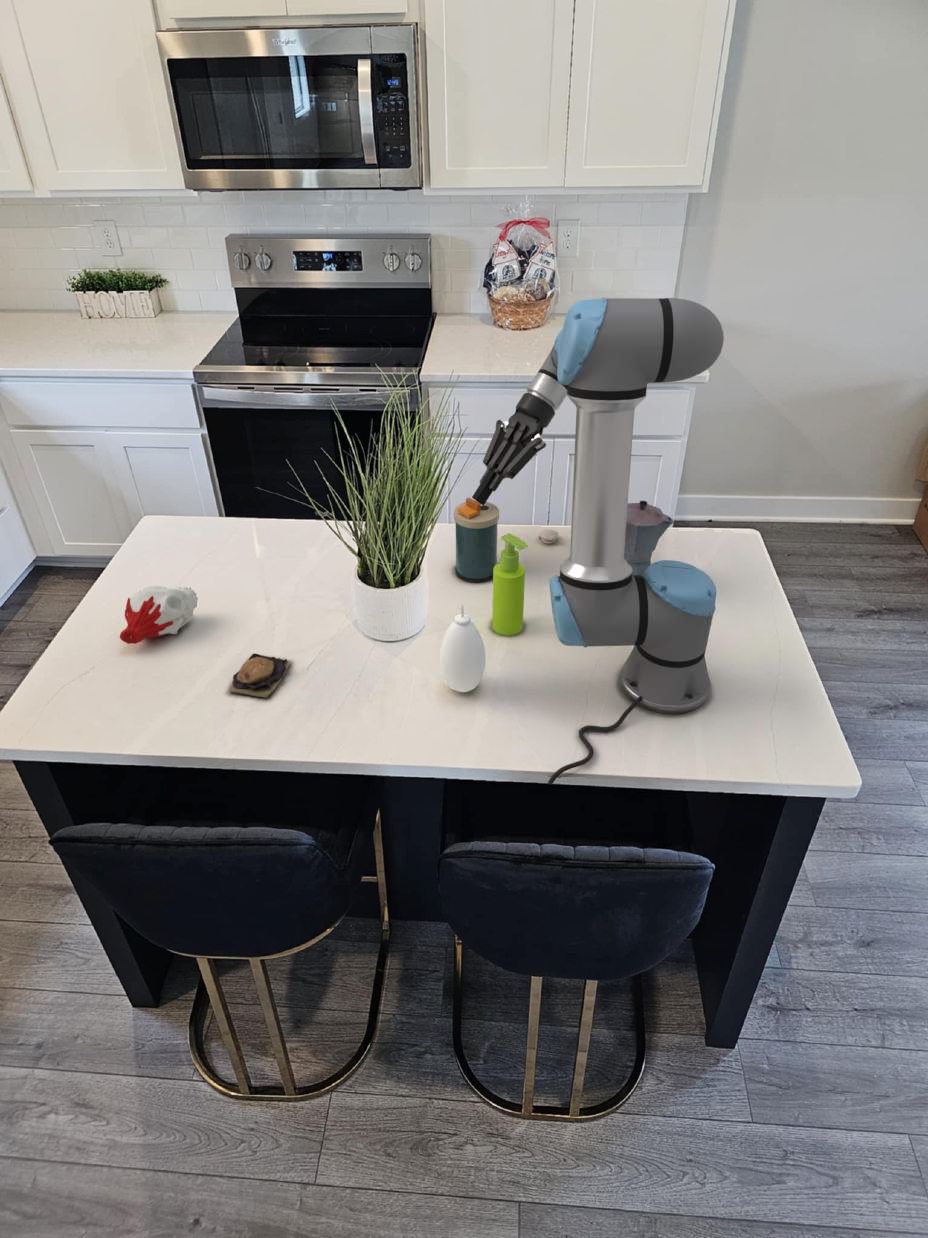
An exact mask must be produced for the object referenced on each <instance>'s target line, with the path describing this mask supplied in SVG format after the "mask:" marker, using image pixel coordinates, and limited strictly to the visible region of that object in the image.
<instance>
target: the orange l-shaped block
mask: <svg viewBox="0 0 928 1238" xmlns="http://www.w3.org/2000/svg"><path fill="white" fill-rule="evenodd" d="M465 502H466V505H465V506H463V507H460V508H458V512H459V513H460V514H462V515H464V516H466V517H468V518H471V517H474V516H476V515H478V514H480V503H478V502H476V500H475V499H473V498H472V497H471V498H470V497H466V498H465Z"/></svg>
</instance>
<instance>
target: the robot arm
mask: <svg viewBox="0 0 928 1238" xmlns="http://www.w3.org/2000/svg"><path fill="white" fill-rule="evenodd" d="M562 325H563V326H562V329H560V331H558V333H557V335H556V337H555V340H554V344H553V346H552V347H551V350H550V352H549V353H548V355H547V356H546V358H545V360H544V362H543V363H542V365H541V367H540V368H539V370H538V371H537V373H536V374H535V376H534V377H533V378H532V380H531V382H530V384H529V385H528V387H527V388H526V392H525V393H523V394H522V396H521V398H520V399H519V400H518V402H517V404H516V406H515V411H514V413H513V414H512V415H511V416H510V417H509V418H508V419H507V420H504V421H502V420H501V419H498V420H496V422H495V430H494V433H493V435H492V437H491V440H490V442H489V444H488V447H487V450H486V452H485V455H484V458H483V460H482V463H483V465H485V467H486V470H485V472H484V473H483V475H482V477H481V478H480V480H479V485H478V487H477V489H476V490H475V491H474V493H473V495H472V497H471V499H473V500H474V501H477V502H478V503H480V504H482V505H484V504H485V503H486V502H488V499H489V498H490V497H491V495H492V493H493V492H496V491H497V490H498V488H499V487H500V485H501V483H502V482H503V480H505V479H510V480H513V479H514V478H516V476H517V475H518V474H519V473H520V472H521V471H522V469H524V468H525V466H527V464H528V463H529V462H530V461H531V460H532V459H533V458H534V457H535V455H536V454H537V453H539V452H540V451H542V450H543V449H545V448H546V447H547V443H546V442H545V441H544V439H543V438H542V435H543V433H544V429H547V427H549V425H550V423H551V422H552V420H553V419H554V417H555V416H556V411H558V410H559V409H560V407H561V405H562V404H563V402H564V401H565V399H566V398H568V399H569V400H570V402H572V403H573V404H574V406H575V407H576V414H575V435H574V436H575V437H574V457H573V458H574V460H573V477H572V478H573V480H572V481H573V482H572V499H571V501H572V503H571V505H572V506H571V523H570V524H571V525H570V545H569V546H570V547H569V548H570V549H569V556H568V557H567V558H566V559H564V560H563V561H562V562H561V563H560V566H559V575H558V574H555V575H554V576H551V577H550V578H549V594H550V603H551V612H552V618H553V623H554V629H555V633H556V638H557V639H558V641H559V642H560V643H561V644H562V645H564V646H567V647H583V648H588V647H619V646H620V647H624V646H627V647H628V646H633V648H632V649H631V651H630V653H629V655H628V657H626V660H625V661H624V663H623V665H622V667H621V669H620V678H619V684H620V688H621V690H622V692H623V693H624V695H625V696H626V697H627V698H628V699H629V700H630V701H631V702H632V703H631V704H630V705H629V706H628V707H627V708H626V709H625V710H624V711H623V712H622V714H621V715H620V717H619V719H618V720H617V721H616V722H615V723H614V724H612V725H610V726H598V725H585V726H582V727H581V729H580V730H579V732H578V736H579V739H580V740H581V741H582V743H583V744H584V745H585V747H586V748H587V750H588V754H587V755H586V756H585V757H584V758H583V759H581V760H578V761H575V762H574V761H573V762H571V763H569V764H566V765H564V766H561V767H560V768H558V769H557V770H556V771H555V772H554V773H553V774H552V775H551V776H550V778H549V780H548V781H547V784H548V785H553V784H554V783H555V781H556V779H557V778H558V777H559V776H560V775H562V774H563V773H565V772H567V771H569V770H571V769H575V768H578V767H581V766H584V765H586V764H587V763H589V762H590V761H591V760H592V759H593V756H594V754H595V752H594V748H593V745H591V743H590V742H589V740H588V739H587V738H586V736H585V735H584V734H585V732H587V731H595V732H611V731H614V730H616V729H617V728H618V727H620V726H621V725H622V723H623V722H624V720H625V719H626V718H627V716H628V715H629V714H631V712H632V711H633V710H634V709H635V708H636V707H637V706H639V707H641V708H643V709H646V710H648V711H651V712H655V713H658V714H659V713H661V714H667V715H676V714H678V715H679V714H684V713H689V712H691V711H695V710H696V709H699V707H701V706H702V705H703V704H704V703H705V701H706V700H707V698H708V696H709V692H710V686H711V681H710V676H709V670H708V665H707V661H706V660H707V659H706V652H707V651H706V650H707V646H708V640H709V636H710V631H711V627H712V623H713V622H712V621H713V618H714V614H715V612H716V599H717V586H716V585H715V583H714V581H713V579H712V578H711V576H709V575H708V574H707V573H706V572H705V571H704V570H702V569H700V568H698V567H696V566H695V565H692V564H689V563H686V562H683V561H679V560H673V559H662V560H661V559H660V560H657V561H654V562H651V564H650V565H649V566H648V568H647V569H646V571H645V574H644V575H632V567H631V565H630V564H629V563H628V562H627V561H626V560H625V559H624V548H625V534H626V521H627V507H628V503H629V492H630V491H629V490H630V478H631V464H632V450H633V437H634V436H633V435H634V422H635V421H634V420H635V410H636V407H637V406H638V405H639V404H641V403H642V402H643V401H644V400H645V399H646V397H647V388H648V385H649V384H654V383H656V384H657V383H660V384H661V383H674V382H679V381H680V382H681V381H684V380H688V379H691V378H694V377H696V376H698V375H701V374H702V373H704V372H706V371H707V370H709V369H710V368H711V367H712V366H713V365H714V364H715V363H716V362H717V360H718V359H719V356H720V355H721V353H722V350H723V346H724V339H725V337H724V329H723V326H722V324H721V322H720V320H719V318H718V317H717V315H716V314H715V313H714V312H712V310H710V309H709V308H707V307H706V306H704V305H703V304H700V303H698V302H696V301H692V300H690V299H689V300H688V299H686V298H678V297H664V298H661V297H660V298H658V297H656V298H653V297H652V298H649V297H647V298H645V297H644V298H643V297H642V298H640V297H637V298H636V297H635V298H634V297H633V298H631V297H630V298H627V297H624V298H623V297H622V298H621V297H619V298H616V297H615V298H613V297H612V298H609V297H608V298H607V297H600V298H591V299H581V300H577V301H575V302H574V303H573V304H571V306H570V307H569V309H568V310H567V313H566V315H565V318H564V322H563V324H562Z"/></svg>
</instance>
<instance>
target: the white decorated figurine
mask: <svg viewBox="0 0 928 1238" xmlns="http://www.w3.org/2000/svg"><path fill="white" fill-rule="evenodd" d="M198 599H199V598H198V596H197V592H195V590H194V589H192V587H188V586H185V587H181V586H179V587H176V588H174V587H173V588H172V587H169V588H168V587H166V586H161V585H159V586H158V585H152V586H147V587H145V588H144V589H142V590H139V591H137V592H135V593H133V594H132V596H130V597H128V598H127V600H126V605H125V610H124V619H125V621H126V624H127V627H125V629H123V630H122V631H120V633H119V639H120V640H121V641H123V642H124V643H126V644H139V643H141V642H142V641H143V640H144V639H148V638H150V639H156V638H159V637H162V636H164V635H167V634H170V635H171V634H172V635H177V634H178V631H179V630H180V629H181V628H182V627H184V626H185V625H186V624H187V623H188V622H189V621H190V620H191V619H192V617H193V615H194V610H195V609H196V608H197V607H198Z"/></svg>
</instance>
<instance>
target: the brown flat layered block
mask: <svg viewBox="0 0 928 1238" xmlns="http://www.w3.org/2000/svg"><path fill="white" fill-rule="evenodd" d="M290 666H291V662H290V661H289V660H288V659H287V658H285V659H282V658H280V657H279V658H276V657H275V656H266V655H262V654H258V653H255V652H254V653H252V654H251V656H250V657H249V658H248V659H247V660H246V661H244V663H242V666H241V667H240V670H238V671H237V672H236V673H235V674H233V675H232V684H231V686H230V687H229V693H231V694H240V695H248V696H251V697H256V698H257V697H258V698H264V699H268V698H269V697H270V695H272V693H273V692H274V691H275V690H276V689H277V687H278V686H279V685H280V683H281V682H282V680H283V679H284V676H285V675H286V674H287V671H288V670H289V668H290Z"/></svg>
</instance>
